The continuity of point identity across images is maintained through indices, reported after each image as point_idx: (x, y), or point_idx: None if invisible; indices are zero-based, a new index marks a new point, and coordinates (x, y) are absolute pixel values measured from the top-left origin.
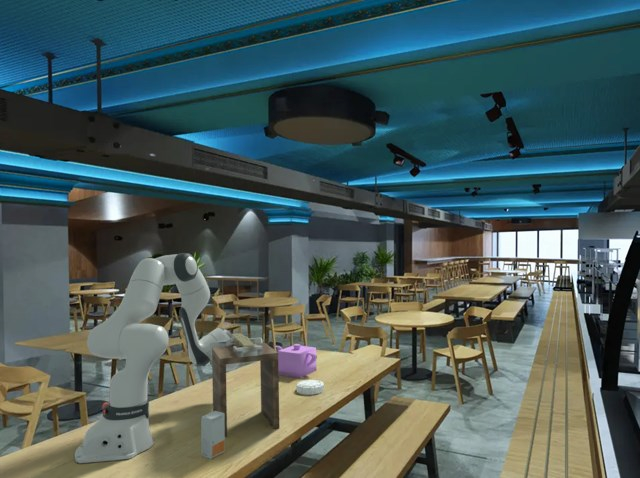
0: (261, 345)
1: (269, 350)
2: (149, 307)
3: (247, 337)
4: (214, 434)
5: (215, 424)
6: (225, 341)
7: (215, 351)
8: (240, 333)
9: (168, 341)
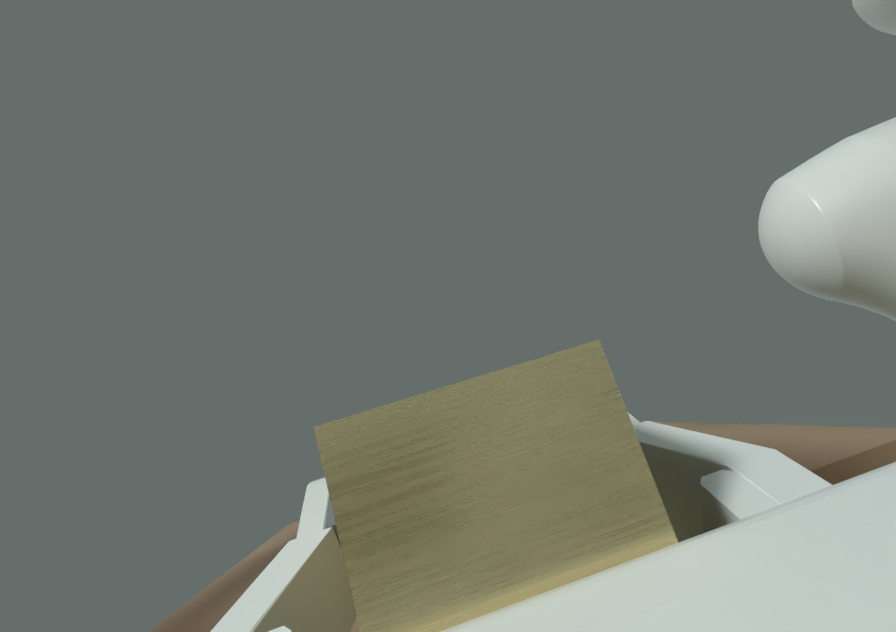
0: (210, 623)
1: (295, 535)
2: (873, 27)
3: (317, 487)
4: None
5: None
6: (859, 484)
7: (722, 426)
8: (362, 414)
9: (782, 250)
